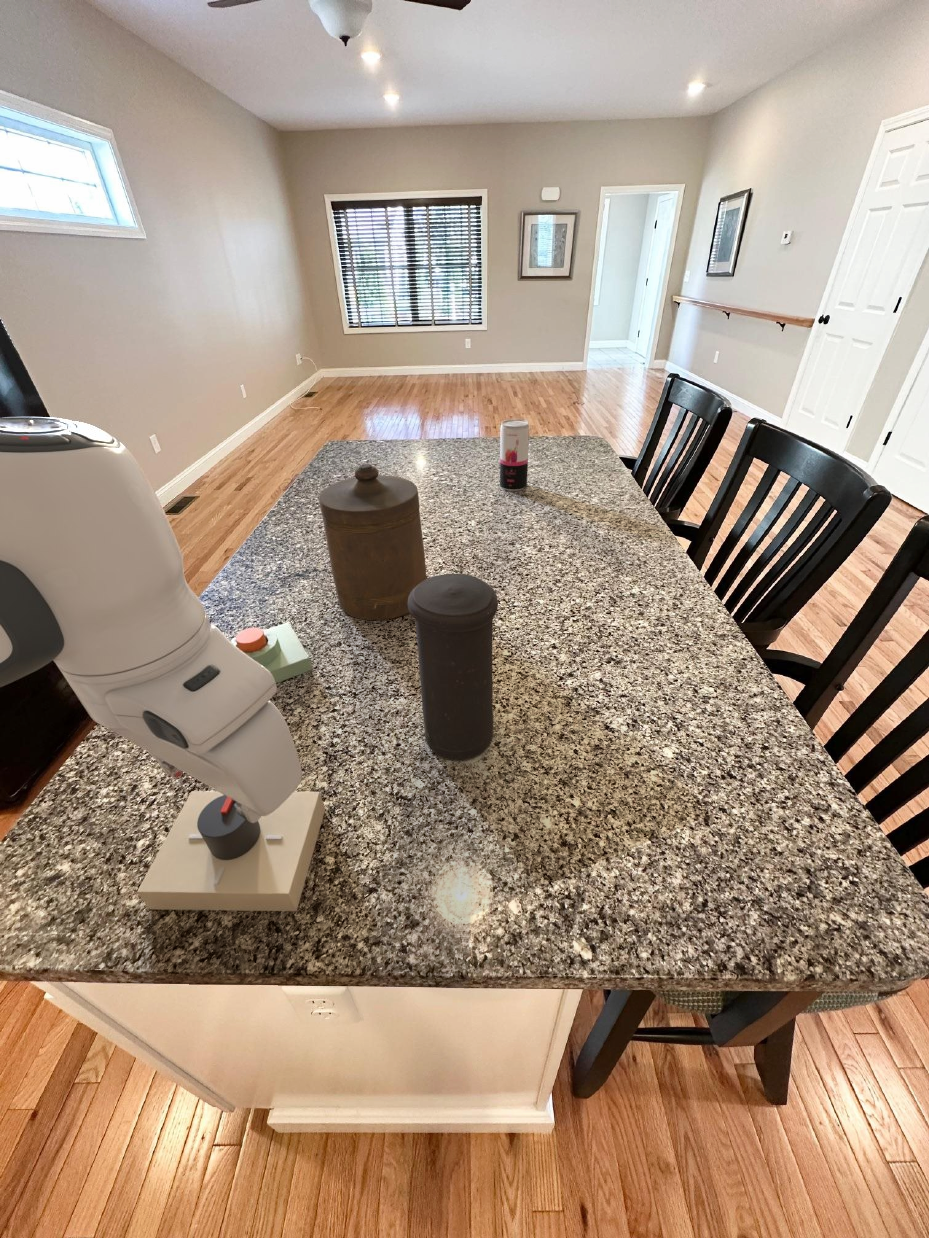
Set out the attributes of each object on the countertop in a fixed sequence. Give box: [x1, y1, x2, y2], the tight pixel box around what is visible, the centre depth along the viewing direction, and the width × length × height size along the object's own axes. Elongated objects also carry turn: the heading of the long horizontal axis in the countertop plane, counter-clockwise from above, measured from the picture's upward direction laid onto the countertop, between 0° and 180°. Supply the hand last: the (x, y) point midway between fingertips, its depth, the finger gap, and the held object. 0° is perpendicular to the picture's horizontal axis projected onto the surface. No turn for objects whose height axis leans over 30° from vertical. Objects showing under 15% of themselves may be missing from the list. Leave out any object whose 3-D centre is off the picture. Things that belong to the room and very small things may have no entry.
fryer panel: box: [136, 790, 326, 912], centre depth 48 cm, size 13×10×3 cm
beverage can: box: [499, 418, 530, 492], centre depth 121 cm, size 6×6×15 cm
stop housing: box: [230, 621, 313, 684], centre depth 71 cm, size 12×10×4 cm
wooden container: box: [318, 463, 428, 621], centre depth 79 cm, size 15×15×22 cm
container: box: [408, 573, 499, 762], centre depth 55 cm, size 9×9×20 cm
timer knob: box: [197, 795, 260, 860], centre depth 46 cm, size 4×4×4 cm
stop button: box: [234, 627, 267, 653], centre depth 69 cm, size 4×4×2 cm
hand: (215, 790), depth 43 cm, fingers open, 8 cm apart
